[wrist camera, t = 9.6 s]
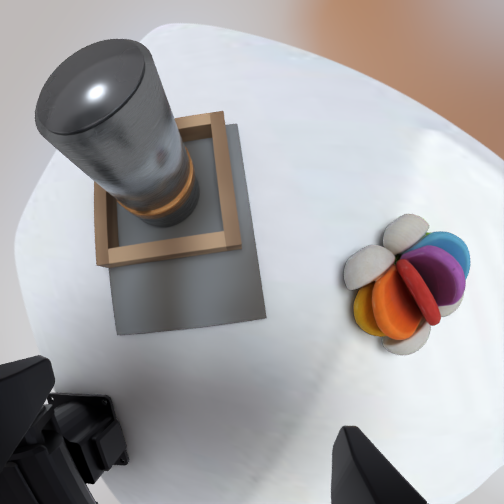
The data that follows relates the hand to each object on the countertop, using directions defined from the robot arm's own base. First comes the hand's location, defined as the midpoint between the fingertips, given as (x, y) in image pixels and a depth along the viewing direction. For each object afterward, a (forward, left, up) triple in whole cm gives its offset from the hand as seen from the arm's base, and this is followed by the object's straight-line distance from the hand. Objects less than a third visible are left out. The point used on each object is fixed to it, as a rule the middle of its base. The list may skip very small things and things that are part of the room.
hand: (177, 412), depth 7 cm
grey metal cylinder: (-2, +11, -13) cm, 17 cm away
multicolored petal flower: (+14, +2, -14) cm, 20 cm away
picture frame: (-2, +9, -14) cm, 16 cm away
